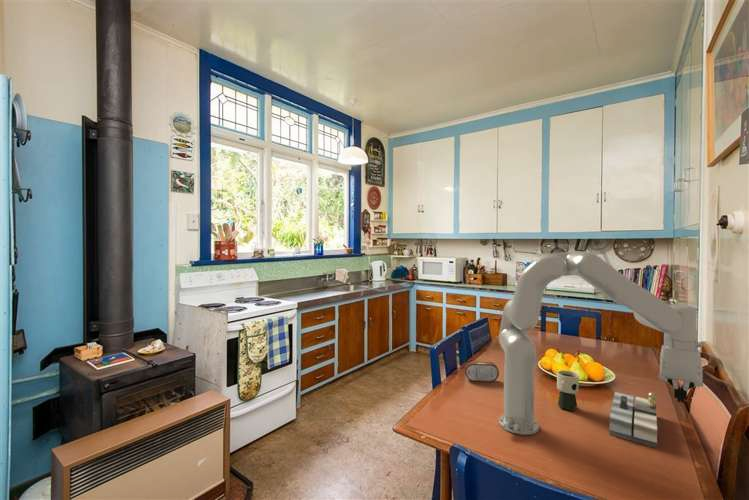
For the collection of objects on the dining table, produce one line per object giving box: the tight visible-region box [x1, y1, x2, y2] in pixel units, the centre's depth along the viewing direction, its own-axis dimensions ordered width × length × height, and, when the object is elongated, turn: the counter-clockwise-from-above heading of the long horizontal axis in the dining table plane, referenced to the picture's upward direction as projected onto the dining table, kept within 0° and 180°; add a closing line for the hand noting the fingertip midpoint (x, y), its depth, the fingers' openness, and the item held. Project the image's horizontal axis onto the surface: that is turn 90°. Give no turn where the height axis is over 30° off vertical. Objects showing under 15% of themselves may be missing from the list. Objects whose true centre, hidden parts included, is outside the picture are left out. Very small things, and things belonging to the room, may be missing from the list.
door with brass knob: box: [634, 391, 658, 414], centre depth 117 cm, size 2×6×6 cm, turn 52°
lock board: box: [608, 391, 658, 449], centre depth 119 cm, size 24×12×8 cm, turn 142°
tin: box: [463, 361, 500, 383], centre depth 157 cm, size 15×3×8 cm, turn 84°
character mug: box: [556, 369, 580, 411], centre depth 132 cm, size 11×7×13 cm, turn 133°
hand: (680, 400), depth 112 cm, fingers closed
